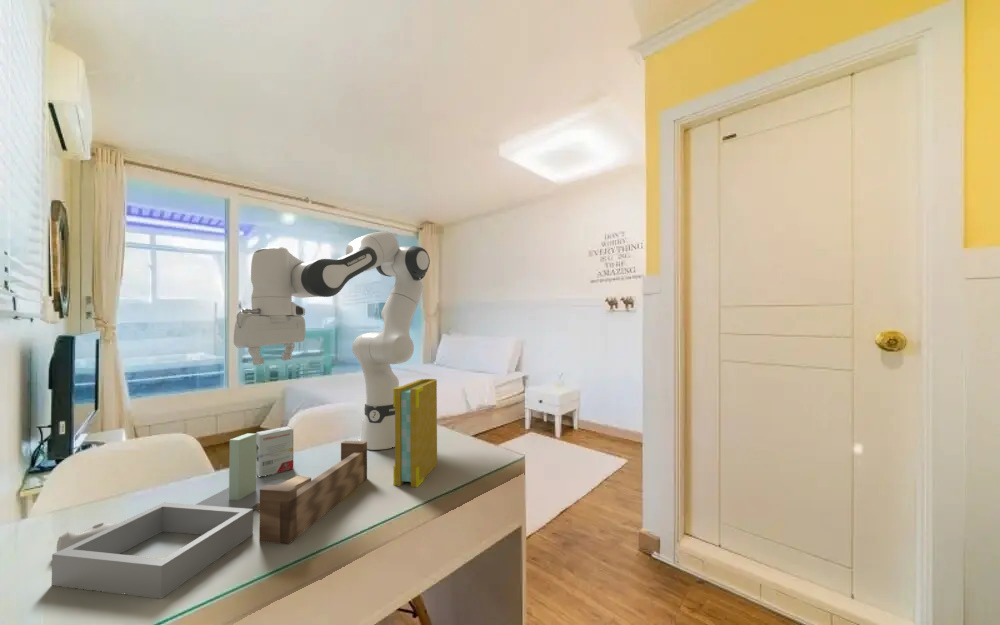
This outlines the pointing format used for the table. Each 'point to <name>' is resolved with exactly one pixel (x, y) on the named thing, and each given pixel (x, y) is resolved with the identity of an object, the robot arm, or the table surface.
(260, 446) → the ink box
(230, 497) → the pale green block
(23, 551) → the table surface
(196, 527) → the grey tray frame
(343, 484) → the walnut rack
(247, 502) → the slate mat
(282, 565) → the table surface
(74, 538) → the pale two-lobed sculpture
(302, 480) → the wooden block
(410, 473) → the book
